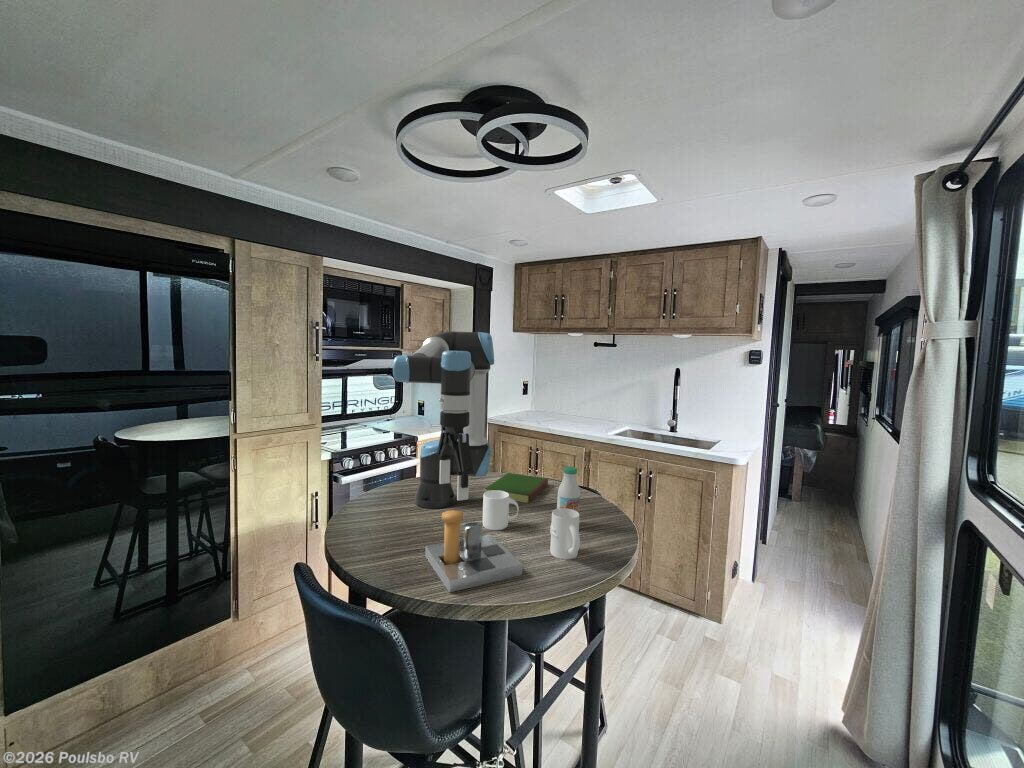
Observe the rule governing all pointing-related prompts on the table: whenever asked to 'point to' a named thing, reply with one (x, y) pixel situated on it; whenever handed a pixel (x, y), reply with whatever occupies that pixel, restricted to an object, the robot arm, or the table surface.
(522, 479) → the hardcover book
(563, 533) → the mug
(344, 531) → the table surface
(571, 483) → the milk bottle
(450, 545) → the tan wooden pestle
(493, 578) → the checkered knob plate
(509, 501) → the mug
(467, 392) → the robot arm
